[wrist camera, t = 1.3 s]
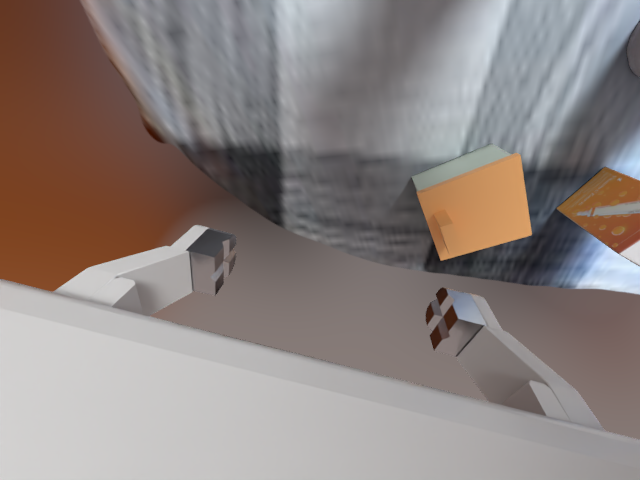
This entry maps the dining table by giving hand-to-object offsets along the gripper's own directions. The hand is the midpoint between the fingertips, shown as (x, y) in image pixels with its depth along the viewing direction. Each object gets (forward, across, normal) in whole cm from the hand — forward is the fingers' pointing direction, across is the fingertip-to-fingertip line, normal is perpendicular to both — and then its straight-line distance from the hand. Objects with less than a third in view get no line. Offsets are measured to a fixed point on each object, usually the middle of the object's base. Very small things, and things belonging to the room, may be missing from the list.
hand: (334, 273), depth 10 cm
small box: (+36, -39, +1) cm, 53 cm away
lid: (+30, -20, +6) cm, 36 cm away
